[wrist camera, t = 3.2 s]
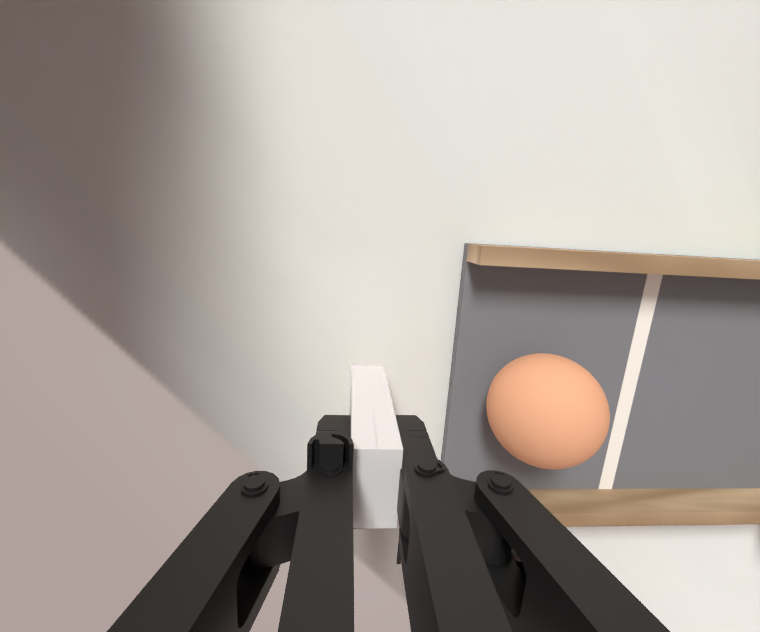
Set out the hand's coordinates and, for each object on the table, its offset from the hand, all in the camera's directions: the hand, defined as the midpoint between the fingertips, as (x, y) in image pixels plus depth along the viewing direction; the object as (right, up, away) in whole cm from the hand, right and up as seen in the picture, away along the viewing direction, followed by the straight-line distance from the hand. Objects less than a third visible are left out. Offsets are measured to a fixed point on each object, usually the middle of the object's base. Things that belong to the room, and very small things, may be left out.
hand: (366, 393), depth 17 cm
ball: (+8, -1, -1) cm, 8 cm away
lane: (+15, 0, +3) cm, 15 cm away
